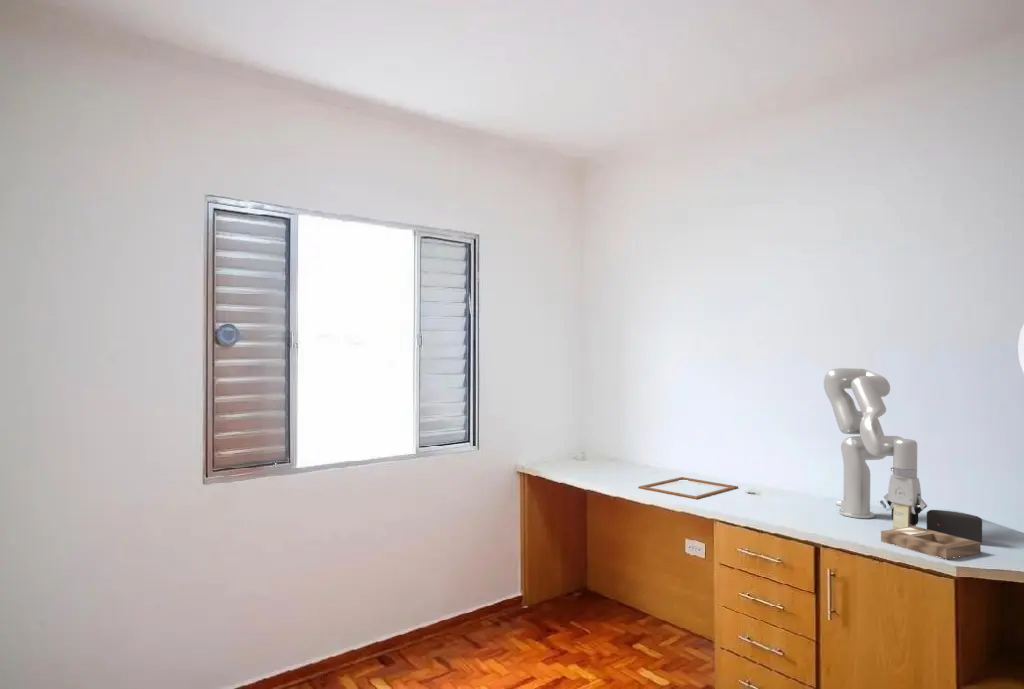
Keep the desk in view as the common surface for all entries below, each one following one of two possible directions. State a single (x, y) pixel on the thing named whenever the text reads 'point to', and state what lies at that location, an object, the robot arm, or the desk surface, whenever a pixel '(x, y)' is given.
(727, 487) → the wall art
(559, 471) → the desk surface
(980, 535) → the leaning round-cornered charcoal block
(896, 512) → the skincare box
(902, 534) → the walnut stand
